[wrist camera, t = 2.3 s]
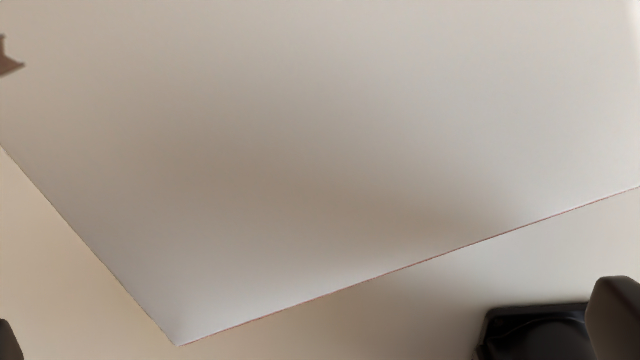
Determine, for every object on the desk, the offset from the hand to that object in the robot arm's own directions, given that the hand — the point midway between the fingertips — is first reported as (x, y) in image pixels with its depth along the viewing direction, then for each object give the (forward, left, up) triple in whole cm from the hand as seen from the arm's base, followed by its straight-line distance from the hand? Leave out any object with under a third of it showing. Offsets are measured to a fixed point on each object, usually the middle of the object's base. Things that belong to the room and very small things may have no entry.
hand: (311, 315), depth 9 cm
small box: (0, -3, -13) cm, 14 cm away
